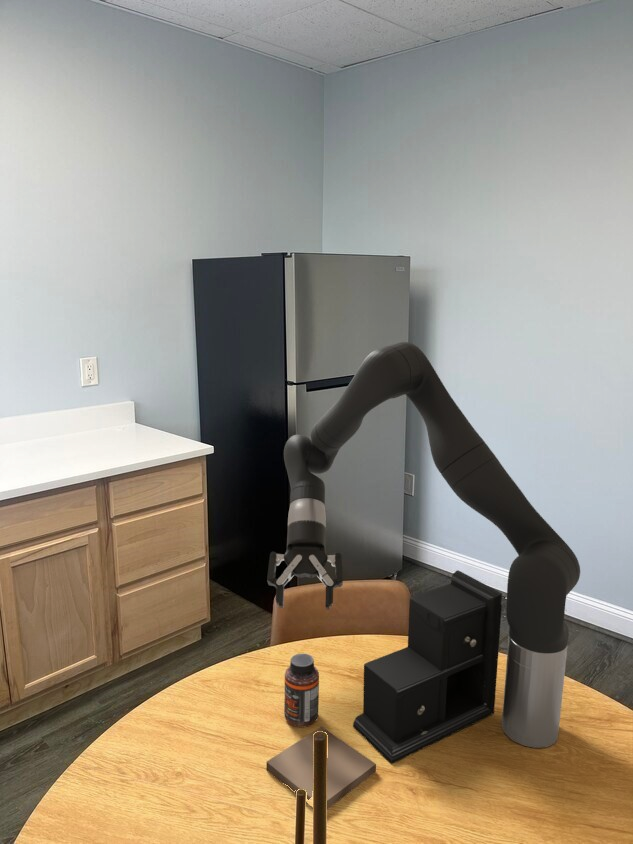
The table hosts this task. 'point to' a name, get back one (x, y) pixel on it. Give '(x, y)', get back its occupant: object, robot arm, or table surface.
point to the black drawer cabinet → (435, 670)
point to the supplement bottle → (301, 691)
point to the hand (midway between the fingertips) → (304, 607)
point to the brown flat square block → (341, 767)
